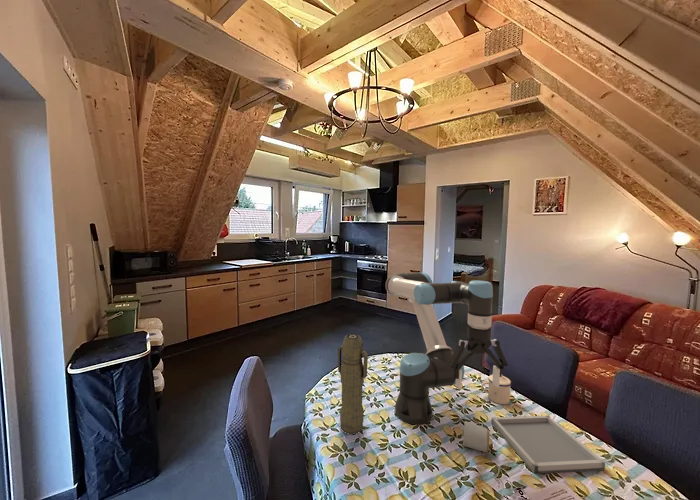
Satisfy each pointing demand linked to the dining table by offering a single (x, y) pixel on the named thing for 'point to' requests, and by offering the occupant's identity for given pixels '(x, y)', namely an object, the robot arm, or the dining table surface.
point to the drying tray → (546, 445)
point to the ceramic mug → (476, 437)
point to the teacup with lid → (498, 390)
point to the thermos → (352, 383)
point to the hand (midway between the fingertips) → (477, 386)
